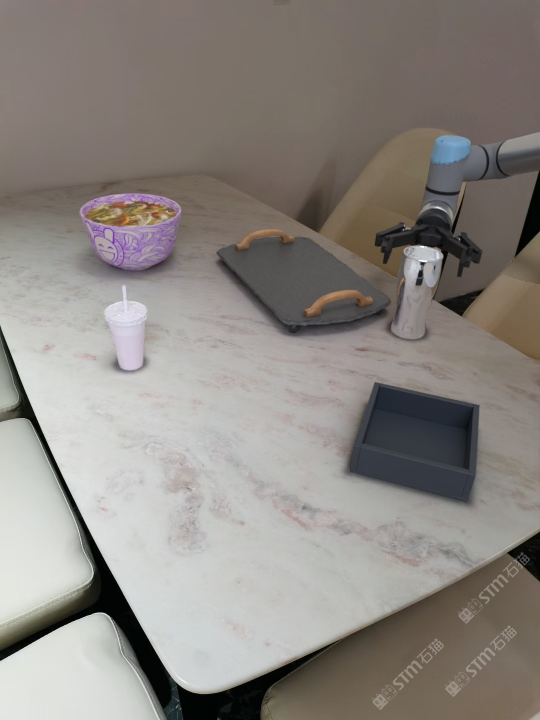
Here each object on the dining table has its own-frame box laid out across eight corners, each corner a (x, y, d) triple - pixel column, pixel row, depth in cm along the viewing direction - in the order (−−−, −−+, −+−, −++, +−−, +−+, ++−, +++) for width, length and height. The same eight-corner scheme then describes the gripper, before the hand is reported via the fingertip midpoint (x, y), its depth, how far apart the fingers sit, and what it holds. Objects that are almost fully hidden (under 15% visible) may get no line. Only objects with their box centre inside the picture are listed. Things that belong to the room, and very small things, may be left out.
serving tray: (209, 257, 130) (208, 230, 126) (302, 243, 139) (304, 217, 135) (291, 345, 101) (293, 313, 98) (401, 321, 110) (407, 291, 107)
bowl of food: (88, 287, 115) (81, 230, 109) (84, 247, 131) (77, 195, 125) (191, 279, 120) (189, 224, 114) (175, 241, 136) (173, 191, 130)
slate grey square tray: (471, 430, 85) (479, 404, 82) (466, 502, 73) (475, 475, 70) (370, 406, 88) (374, 381, 85) (349, 472, 76) (354, 445, 74)
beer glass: (394, 317, 111) (408, 241, 103) (431, 327, 109) (448, 250, 100) (383, 334, 106) (397, 255, 97) (421, 344, 103) (439, 265, 95)
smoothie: (113, 378, 91) (103, 297, 83) (107, 356, 96) (97, 277, 88) (155, 371, 93) (149, 291, 85) (147, 350, 98) (141, 272, 90)
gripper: (490, 251, 125) (487, 294, 108) (372, 232, 131) (353, 270, 114) (499, 217, 121) (498, 256, 104) (377, 198, 127) (358, 232, 110)
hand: (422, 263), depth 109 cm, fingers open, 13 cm apart
